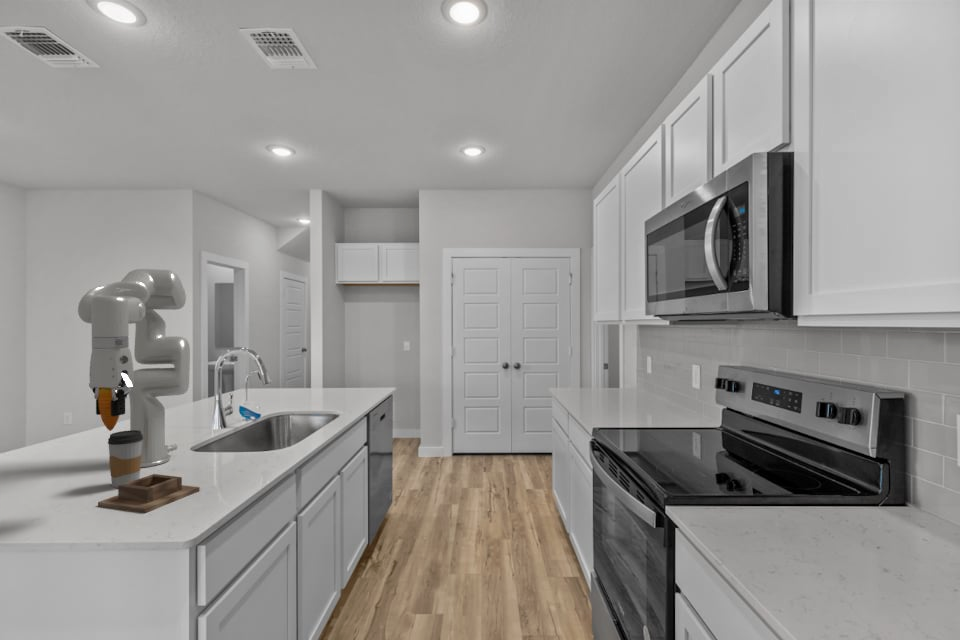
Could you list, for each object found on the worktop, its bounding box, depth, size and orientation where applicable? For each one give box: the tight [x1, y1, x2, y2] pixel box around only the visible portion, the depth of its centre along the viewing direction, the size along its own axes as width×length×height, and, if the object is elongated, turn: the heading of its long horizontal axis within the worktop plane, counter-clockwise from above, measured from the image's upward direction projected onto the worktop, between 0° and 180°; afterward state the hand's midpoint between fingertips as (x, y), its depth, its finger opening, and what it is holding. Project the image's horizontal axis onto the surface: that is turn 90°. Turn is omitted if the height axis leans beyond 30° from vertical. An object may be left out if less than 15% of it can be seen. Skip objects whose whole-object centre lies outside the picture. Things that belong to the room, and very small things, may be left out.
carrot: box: [98, 386, 120, 432], centre depth 122 cm, size 5×5×15 cm
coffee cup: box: [107, 430, 143, 489], centre depth 138 cm, size 8×8×15 cm
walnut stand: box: [97, 473, 201, 514], centre depth 128 cm, size 16×16×4 cm
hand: (110, 413), depth 122 cm, fingers closed on carrot, 4 cm apart
